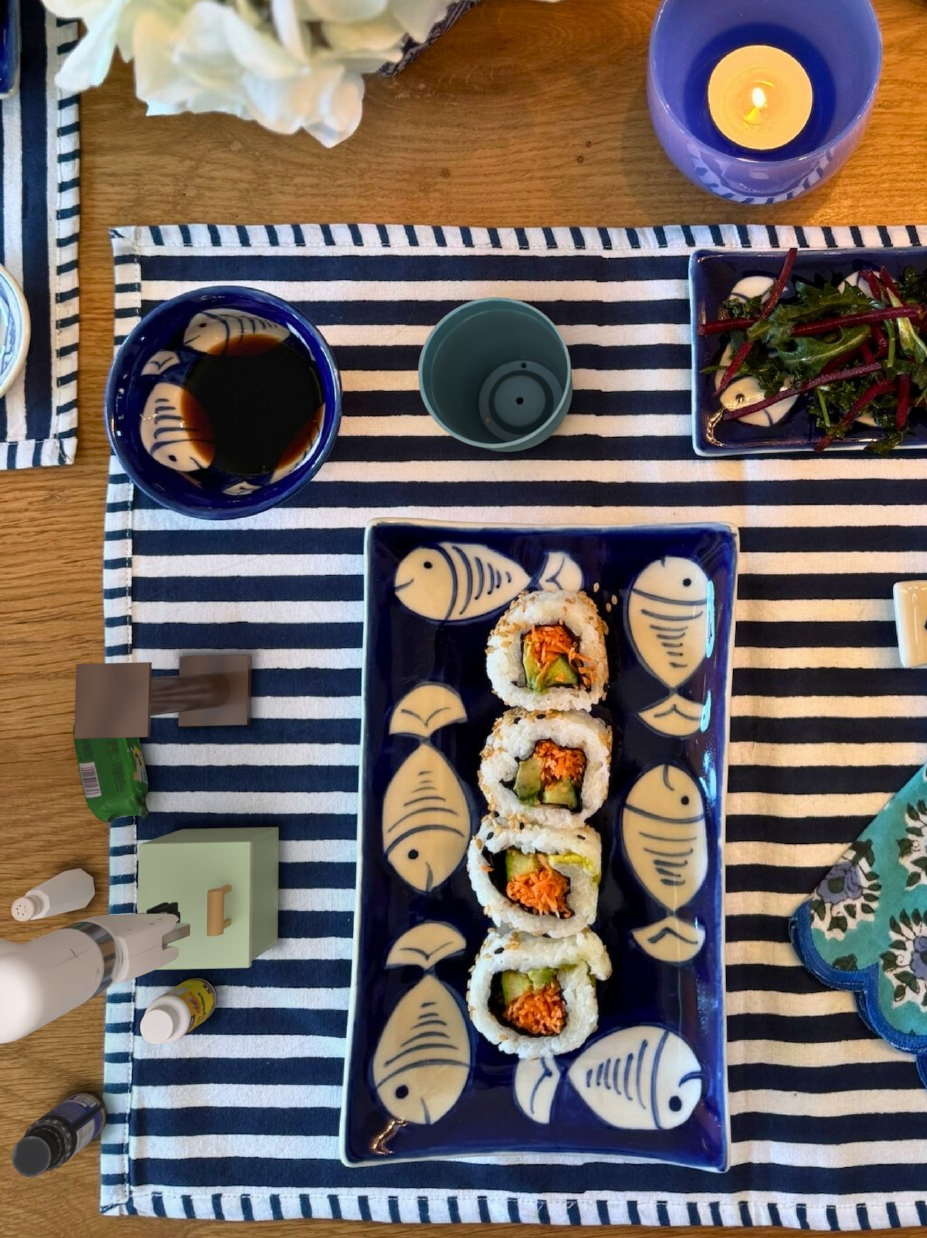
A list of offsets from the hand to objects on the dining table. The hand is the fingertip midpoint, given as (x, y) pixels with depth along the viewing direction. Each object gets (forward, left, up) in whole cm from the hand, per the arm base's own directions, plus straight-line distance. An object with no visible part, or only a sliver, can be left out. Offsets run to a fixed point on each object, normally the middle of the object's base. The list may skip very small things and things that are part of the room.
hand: (170, 916), depth 124 cm
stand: (-2, +25, -16) cm, 29 cm away
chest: (0, 0, -16) cm, 16 cm away
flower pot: (+38, +62, -16) cm, 74 cm away
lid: (0, 0, -6) cm, 6 cm away
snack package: (-14, +16, -16) cm, 27 cm away
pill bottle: (-18, -28, -16) cm, 37 cm away
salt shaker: (-20, 0, -16) cm, 25 cm away
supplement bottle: (-4, -14, -16) cm, 21 cm away
